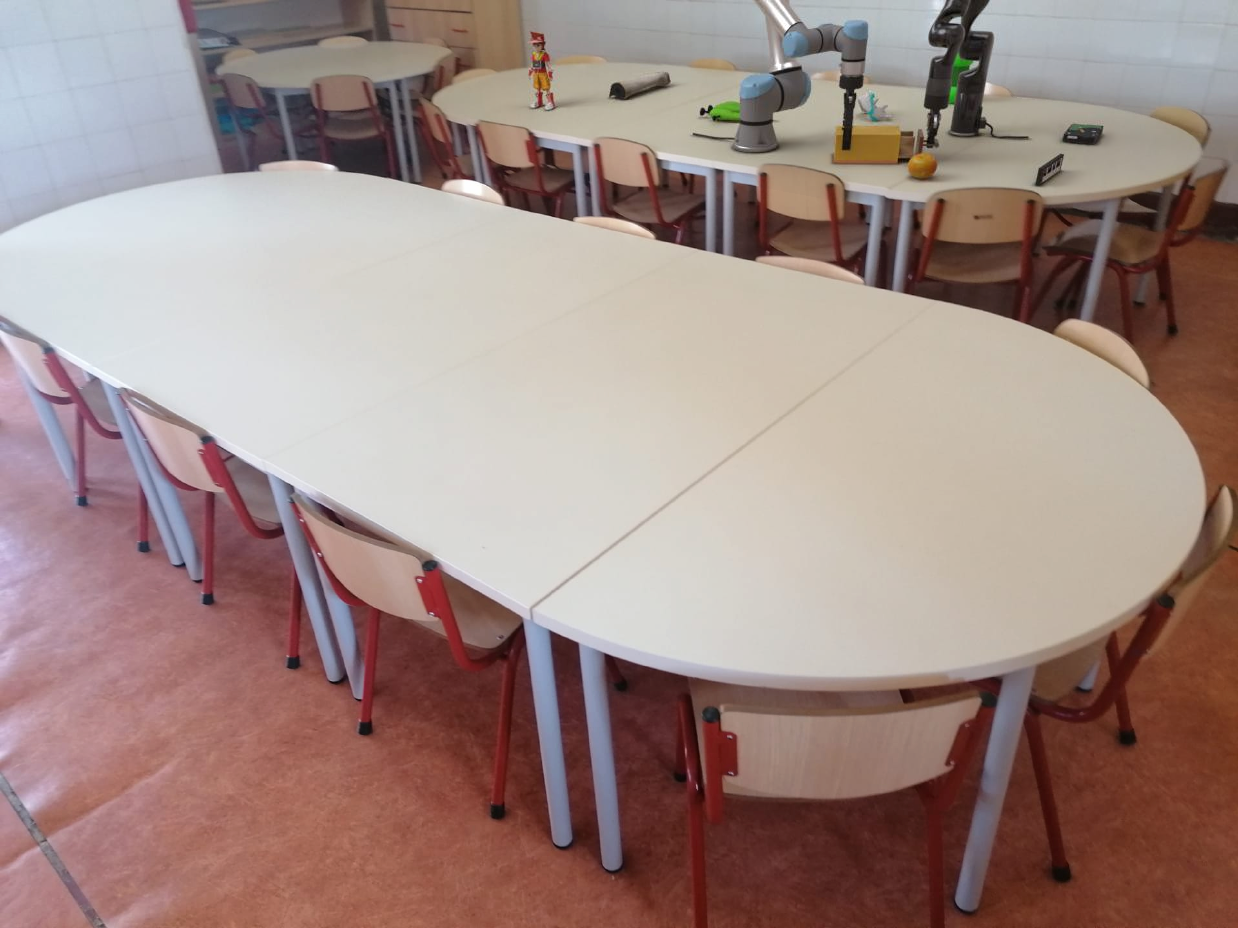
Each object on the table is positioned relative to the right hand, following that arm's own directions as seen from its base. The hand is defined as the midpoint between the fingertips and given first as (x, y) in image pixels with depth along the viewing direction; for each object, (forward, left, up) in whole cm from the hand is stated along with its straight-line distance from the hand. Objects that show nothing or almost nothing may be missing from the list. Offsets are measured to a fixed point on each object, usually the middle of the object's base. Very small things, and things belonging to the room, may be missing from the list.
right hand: (929, 147), depth 294 cm
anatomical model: (+17, -54, -4) cm, 57 cm away
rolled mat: (+115, -98, -4) cm, 151 cm away
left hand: (+27, 0, +1) cm, 27 cm away
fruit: (+4, +20, -4) cm, 20 cm away
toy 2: (+67, -53, -4) cm, 85 cm away
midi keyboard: (-34, +19, -4) cm, 39 cm away
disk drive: (-52, -25, -4) cm, 58 cm away
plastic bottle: (-16, -77, -4) cm, 78 cm away
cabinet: (+20, 0, -4) cm, 21 cm away
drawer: (+10, 0, -3) cm, 10 cm away
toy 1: (+153, -71, -4) cm, 168 cm away
